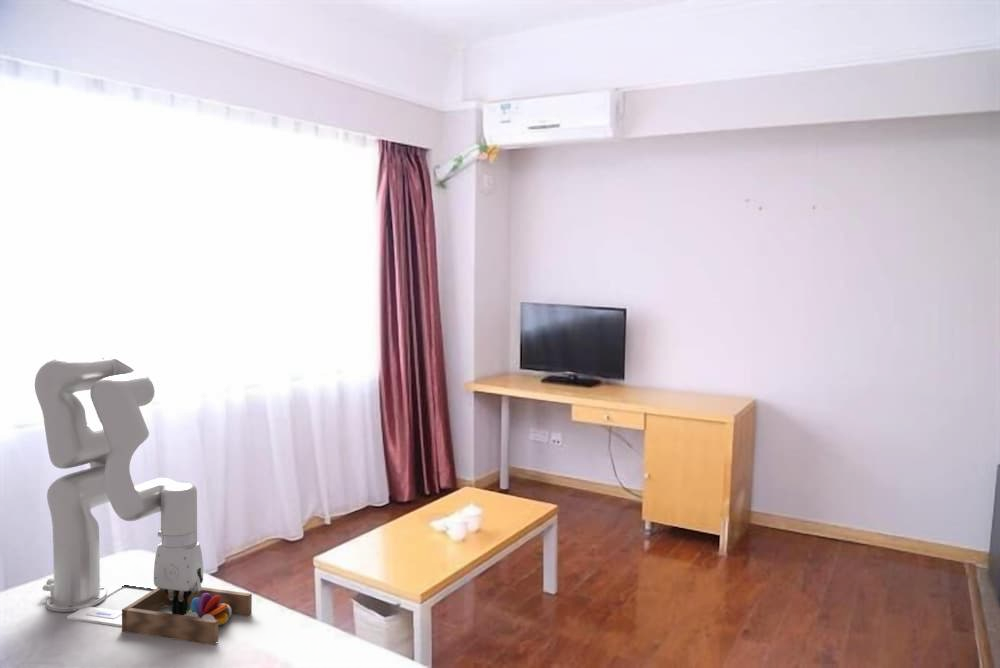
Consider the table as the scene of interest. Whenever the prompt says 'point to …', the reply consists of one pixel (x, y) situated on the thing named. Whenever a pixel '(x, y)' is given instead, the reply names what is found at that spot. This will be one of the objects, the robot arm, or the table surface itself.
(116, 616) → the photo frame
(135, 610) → the u-shaped wooden frame
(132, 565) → the table surface
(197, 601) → the rainbow roller toy
